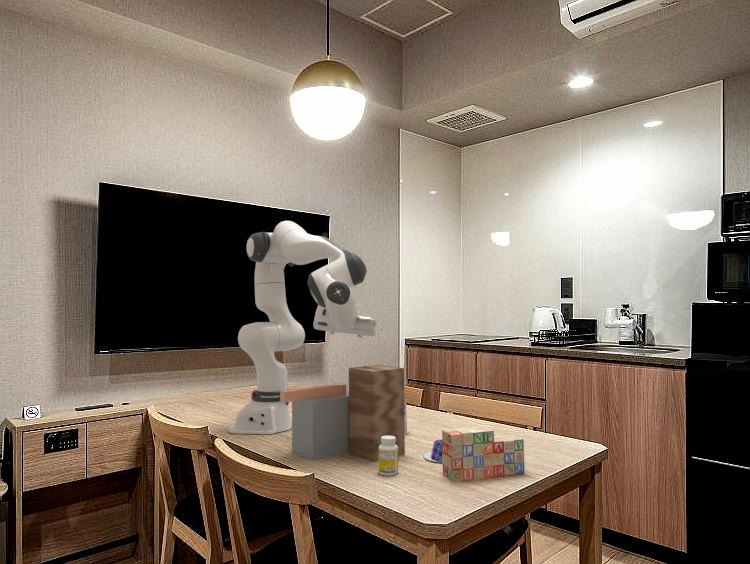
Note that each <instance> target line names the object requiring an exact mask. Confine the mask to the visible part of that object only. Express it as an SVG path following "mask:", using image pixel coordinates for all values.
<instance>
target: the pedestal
mask: <svg viewBox="0 0 750 564" xmlns="http://www.w3.org/2000/svg"><path fill="white" fill-rule="evenodd" d="M291 424H292V428H291V451H292V453H295V454H297V455H299V456H302V457H305V458H307V459H310V460H312V461H314V460H319V458H320V459H323V458H324V459H325V458H328V457H334V456H337V454H338V455H342V453H343V454H347V452H348V453H349V391H346V394H343V395H335V396H328V397H321V398H313V399H306V400H299V401H291ZM333 455H334V456H333Z"/></svg>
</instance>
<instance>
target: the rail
mask: <svg viewBox="0 0 750 564" xmlns="http://www.w3.org/2000/svg"><path fill="white" fill-rule="evenodd" d="M346 392H347V384H345V383H333V384H326V385H317V386H308V387H307V386H306V387H302V388H301V387H299V388H293V389H289V390H283V391H280V401H282V402H289V403H290V402H291V403H292V401H299V400H306V399H313V398H321V397H328V396H335V395H343V394H346Z"/></svg>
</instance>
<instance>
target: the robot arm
mask: <svg viewBox="0 0 750 564" xmlns="http://www.w3.org/2000/svg"><path fill="white" fill-rule="evenodd" d="M246 254H247V257H248V258H249V259H250V260H251V262H255V269H254V297H255V298H254V299H255V300H254V301H255V302H254V303H255V305H256V308H257V309H258V310H259V311H261V312H264V313H265V314H266V315H267V317H268V319H269V321H265V322H264V321H261V322H259V321H258V322H257V321H256V322H252V323H248V324H245V325H243V326H242V327H241V328H240V329H239V331H238V334H237V335H238V336H237V342H238V346H239V347H240V348H241V350H242V351H244V352H245V353H246V354H248V356H249V357H250V358H251V359H252V361H253V364H254V367H255V371H256V388H255V389H253V390H252V391H251V396H250V397H251V400H250V402H248V403H247V404H246V405H244V406H243V407H242V408H241V409H239V411H238V412H237V414H236V417H235V423H233V424H232V425H230V426H229V428H228V432H229V433H230V434H238V435H239V434H244V435H248V434H249V435H273V434H277V433H281V432H286V431H288V430H289V431H290V430H292V420H291V416H290V410H289V409H290V408H289V404H290V402H282V401H280V391H283V390H290V389H289V388H288V382H289V381H288V375H289V374H288V368H287V367H286V365H285V364H284V363H282V362H280V361H278V360H277V358H276V356H275V352H285V351H286V352H287V351H288V352H289V351H291V350H296V349H298V348H301V346H302V345H303V344H304V341H305V338H306V333H305V330H304V328H303V326H302V324H300V323H299V322H298V321H297V320H296V319H295V318H294V317H293V316H292V313H291V312H290V309H289V307H288V303H287V296H286V285H285V284H286V283H285V282H286V281H285V272H284V271H285V267H286V265H287V264H288V266H289V267H290V268H291V267H293V266H294V265H297V266H303V265H308V264H311V263H313V262H316V261H320V260H324V259H329V260H332V261H331V262H330V263H328V264H326V265H324V266H322V267H319V268H318V269H316V270H314V271H312V272H311V273H309V275H308V279H307V287H308V290H309V293H310V294H311V297H312V299H313V300H314V302H315V303H316V305H317V308H316V311H315V315H314V320H313V329H315V330H316V331H317V330H318V331H325V332H327V333H329V335H330V336H331V335H333V336H335V334H336V333H340V334H341V333H342V334H350V335H357V338H358V339H363V337H364V336H366V337H367V336H368V337H374V336H376V331H377V321H376V320H375V319H374V318H372V316H363V315H358V311H357V307H356V300H355V295H354V293H353V290H352V287H354V286H356V285H360V284H361V283H364V280H365V279H366V275H367V272H368V271H367V267H366V264H365V263H364V261H363V260H362V258H361V257H360V256H359V255H357V254H355V253H353V252H350V251H349V250H347V249H345V248H344V247H342V246H341V245H339V244H337V243H336V242H334V241H333V240H331V239H329V238H328V237H326V236H323V235H313V234H310V233H307V231H306V230H305V229H304V228H303V227H301V226H300V225H299V224H297V223H296V222H294V221H291V220H284V221H280V222H279V223H277V225H276V226H275V228H274V230H273V232H266V231H262V232H261V231H260V232H255V233H252V234H251V235H250V236H249V237H248V238H247V242H246Z"/></svg>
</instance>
